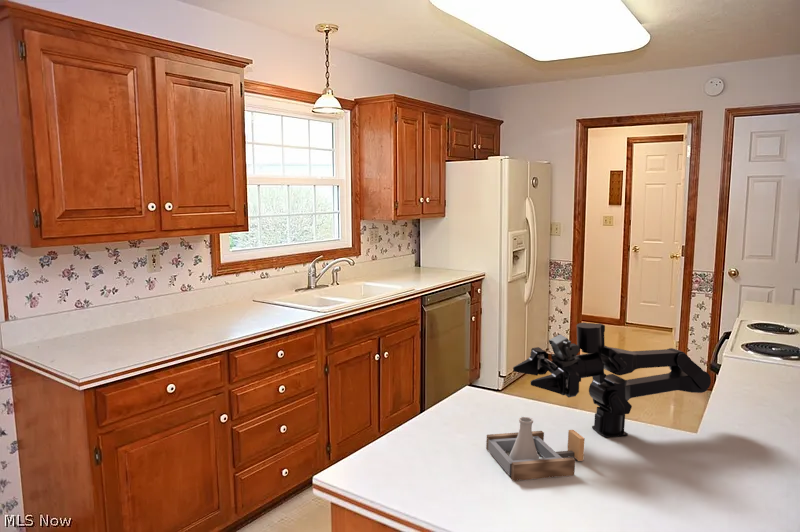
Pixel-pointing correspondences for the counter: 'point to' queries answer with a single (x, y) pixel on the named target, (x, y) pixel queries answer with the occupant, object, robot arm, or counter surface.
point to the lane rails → (537, 463)
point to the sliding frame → (502, 445)
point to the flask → (524, 442)
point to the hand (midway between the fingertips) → (521, 375)
